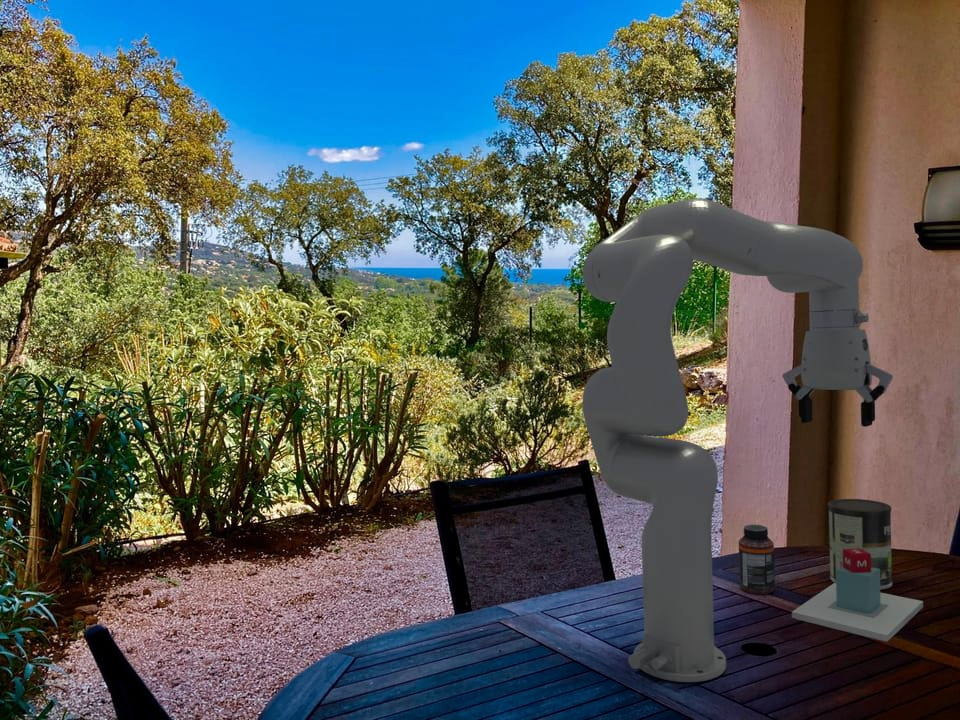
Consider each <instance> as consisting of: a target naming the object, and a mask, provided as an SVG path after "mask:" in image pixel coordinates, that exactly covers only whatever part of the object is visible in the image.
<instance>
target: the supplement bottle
mask: <svg viewBox="0 0 960 720" xmlns="http://www.w3.org/2000/svg"><path fill="white" fill-rule="evenodd" d="M768 531H769V530H768V527H767V526H765V525H763V524H762V525H761V524H746V525H744V526H743V536H742V537H741V538H740V539H739V540H738V564H739V565H738V566H739V568H738V569H739V570H738V571H739V586H740V588H741V590H743V591H744V592H747V593H750V594H753V595H754V594H755V595H766V594H770V593H773V592H774V591H775V589H776V574H775V571H776V570H775V545H774V542H773V540H772V539H771V538H769V536H768V535H769V534H768Z"/></svg>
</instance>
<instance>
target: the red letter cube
mask: <svg viewBox="0 0 960 720" xmlns="http://www.w3.org/2000/svg"><path fill="white" fill-rule="evenodd" d="M843 567H844V568H845V569H847V570H849V571H850V572H852V573H864V572H871V554H870V553H868V552H866V551H864V550H862V549H860V548H859V549H843Z"/></svg>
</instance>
